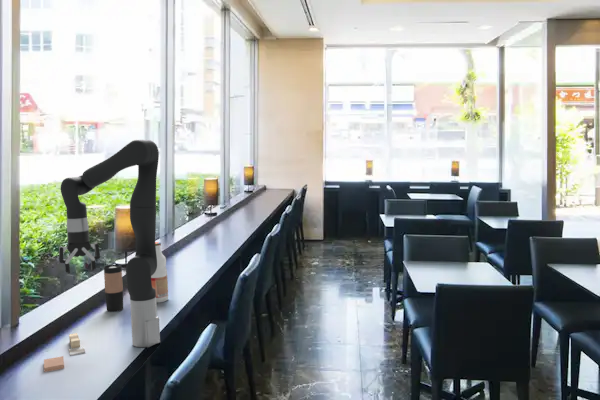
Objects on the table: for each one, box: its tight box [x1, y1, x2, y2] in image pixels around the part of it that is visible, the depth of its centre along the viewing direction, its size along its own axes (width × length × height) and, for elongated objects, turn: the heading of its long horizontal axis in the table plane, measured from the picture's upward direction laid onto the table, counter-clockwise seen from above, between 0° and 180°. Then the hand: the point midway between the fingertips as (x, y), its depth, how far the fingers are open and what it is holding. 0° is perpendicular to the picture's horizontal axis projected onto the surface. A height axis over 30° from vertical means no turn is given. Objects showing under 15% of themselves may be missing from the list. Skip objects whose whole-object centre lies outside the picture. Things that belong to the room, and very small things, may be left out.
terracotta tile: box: [43, 355, 65, 373], centre depth 180 cm, size 2×6×8 cm
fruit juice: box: [151, 241, 169, 304], centre depth 256 cm, size 9×9×28 cm
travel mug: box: [103, 264, 124, 313], centre depth 243 cm, size 8×8×20 cm
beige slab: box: [68, 332, 86, 357], centre depth 196 cm, size 15×5×3 cm, turn 28°
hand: (80, 271), depth 205 cm, fingers open, 8 cm apart
